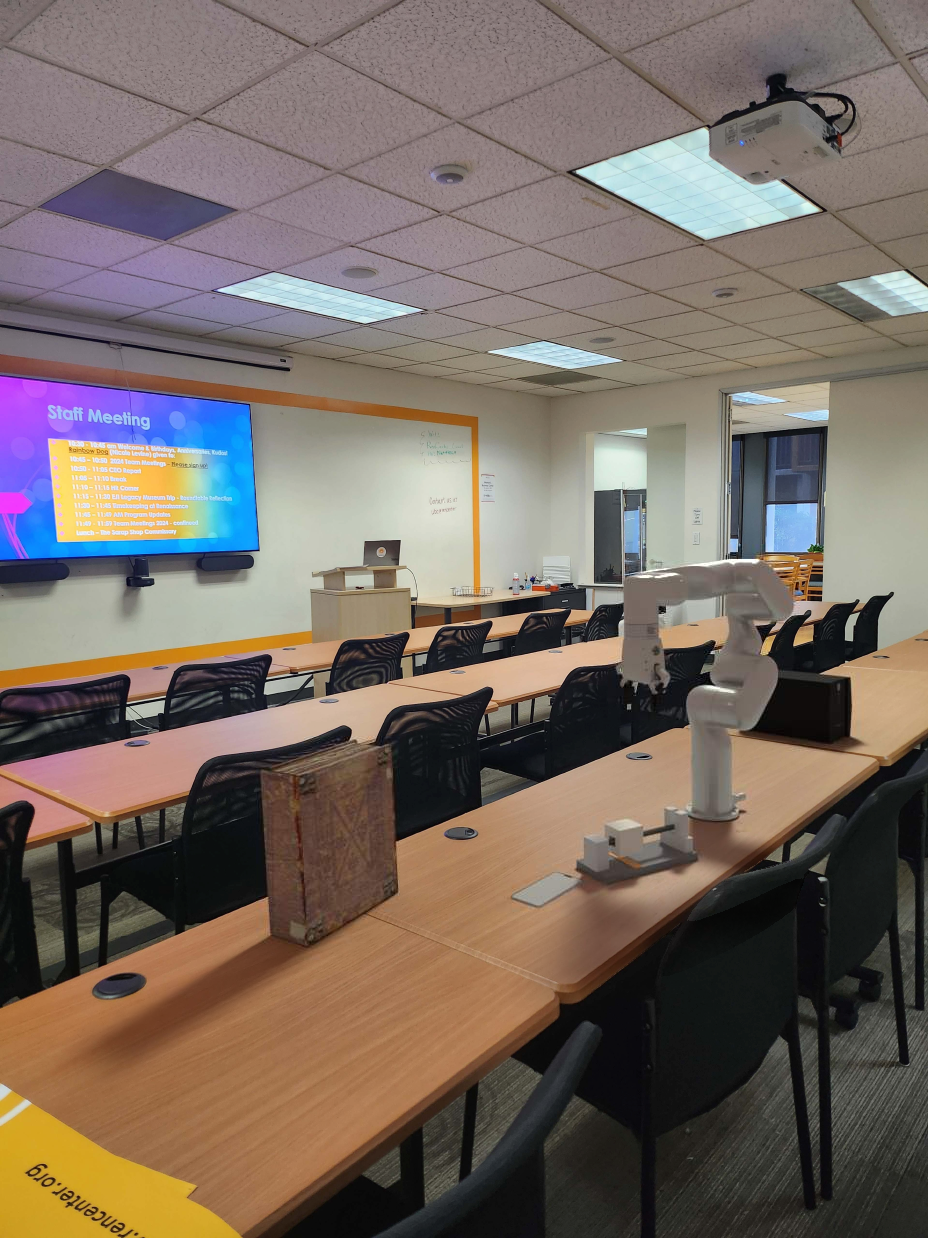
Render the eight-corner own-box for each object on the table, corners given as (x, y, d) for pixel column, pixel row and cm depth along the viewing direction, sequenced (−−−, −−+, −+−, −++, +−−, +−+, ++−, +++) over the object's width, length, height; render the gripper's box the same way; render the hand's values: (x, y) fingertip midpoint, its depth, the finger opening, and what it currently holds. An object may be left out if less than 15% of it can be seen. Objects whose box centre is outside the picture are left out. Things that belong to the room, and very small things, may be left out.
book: (363, 883, 164) (356, 738, 161) (399, 892, 159) (392, 743, 156) (269, 936, 143) (259, 770, 140) (307, 948, 137) (298, 777, 135)
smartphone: (508, 896, 154) (554, 871, 165) (508, 900, 155) (554, 874, 166) (539, 907, 149) (585, 880, 160) (539, 910, 150) (585, 883, 160)
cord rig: (666, 844, 178) (665, 802, 178) (698, 859, 170) (697, 815, 169) (576, 867, 168) (575, 823, 167) (605, 884, 159) (604, 837, 158)
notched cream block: (628, 844, 170) (627, 818, 170) (643, 852, 166) (643, 825, 165) (605, 850, 168) (604, 823, 167) (620, 857, 163) (619, 831, 163)
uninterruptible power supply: (828, 745, 257) (828, 683, 256) (733, 729, 283) (733, 673, 281) (851, 736, 268) (852, 676, 266) (758, 721, 294) (758, 667, 292)
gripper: (681, 633, 172) (682, 712, 173) (630, 627, 187) (631, 699, 189) (653, 635, 168) (654, 716, 170) (603, 629, 184) (605, 703, 185)
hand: (642, 707), depth 179 cm, fingers open, 9 cm apart
